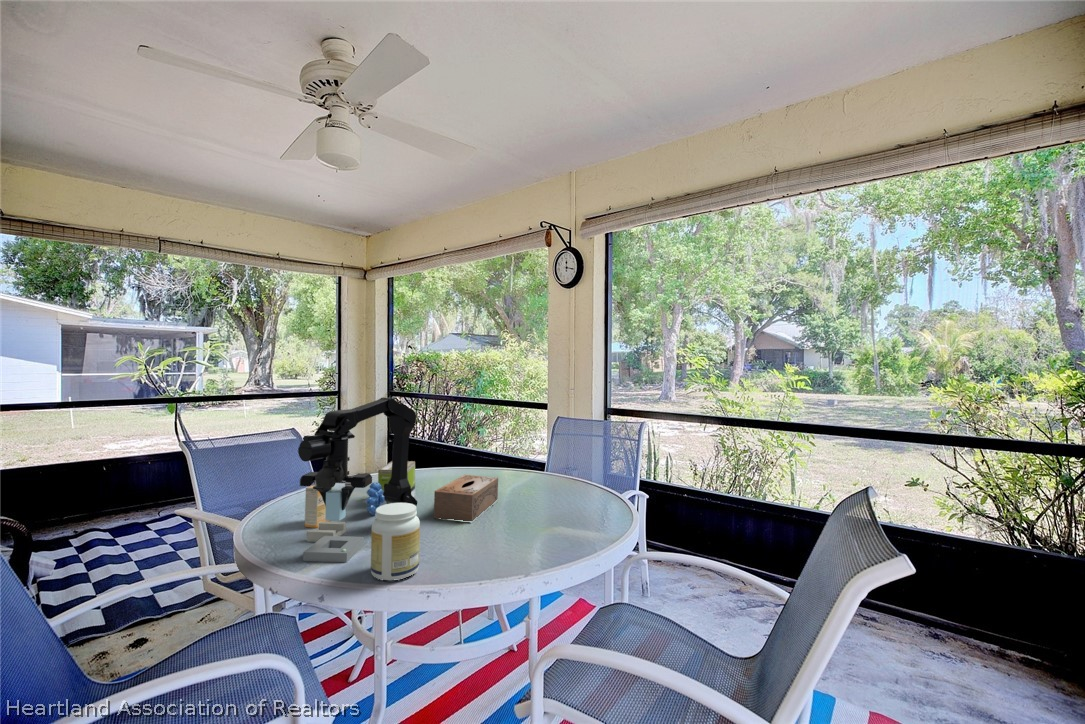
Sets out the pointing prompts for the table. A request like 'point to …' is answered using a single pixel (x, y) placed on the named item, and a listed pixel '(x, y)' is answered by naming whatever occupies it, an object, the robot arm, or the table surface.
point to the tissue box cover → (465, 497)
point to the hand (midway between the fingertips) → (335, 509)
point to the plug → (334, 505)
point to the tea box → (386, 472)
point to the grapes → (374, 497)
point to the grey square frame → (326, 530)
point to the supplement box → (314, 508)
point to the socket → (333, 549)
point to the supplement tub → (395, 541)
